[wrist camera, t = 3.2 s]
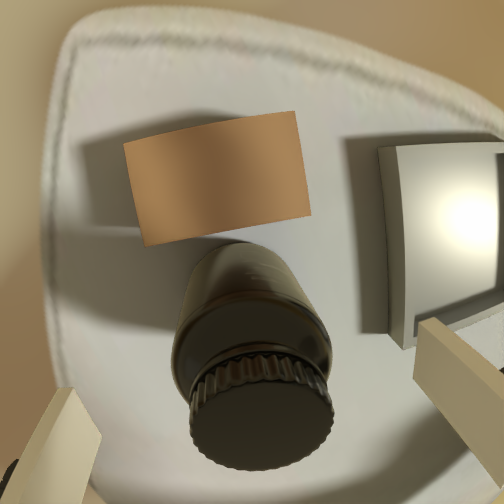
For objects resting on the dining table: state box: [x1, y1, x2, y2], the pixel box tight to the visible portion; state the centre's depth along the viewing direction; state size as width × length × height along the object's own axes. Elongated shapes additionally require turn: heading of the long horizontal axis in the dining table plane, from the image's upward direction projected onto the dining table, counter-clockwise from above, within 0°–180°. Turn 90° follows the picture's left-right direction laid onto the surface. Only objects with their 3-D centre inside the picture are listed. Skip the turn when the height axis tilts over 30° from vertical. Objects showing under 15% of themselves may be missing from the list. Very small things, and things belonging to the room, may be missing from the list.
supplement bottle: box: [171, 243, 335, 471], centre depth 15 cm, size 7×7×12 cm
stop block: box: [123, 111, 311, 247], centre depth 17 cm, size 8×5×4 cm, turn 100°
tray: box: [377, 142, 504, 350], centre depth 20 cm, size 14×14×2 cm
